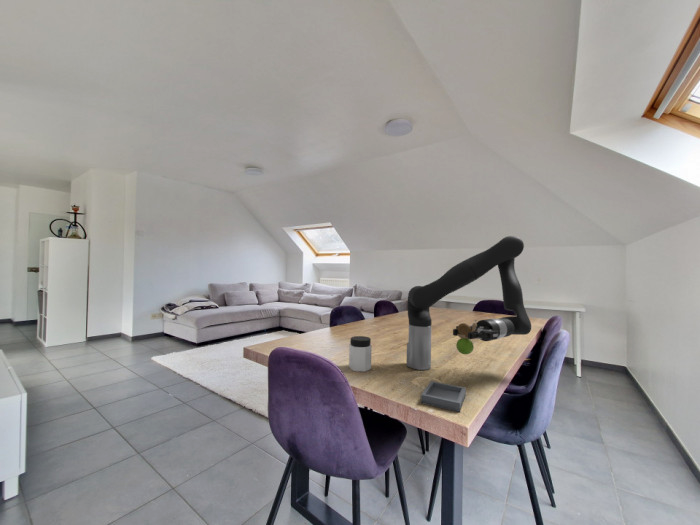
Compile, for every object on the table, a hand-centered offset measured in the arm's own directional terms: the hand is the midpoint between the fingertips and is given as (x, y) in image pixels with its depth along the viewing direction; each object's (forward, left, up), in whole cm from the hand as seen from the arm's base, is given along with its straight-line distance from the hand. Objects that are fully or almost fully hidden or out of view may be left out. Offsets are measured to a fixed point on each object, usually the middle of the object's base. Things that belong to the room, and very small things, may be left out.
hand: (461, 334), depth 99 cm
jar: (-39, +2, -19) cm, 43 cm away
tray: (-4, -10, -19) cm, 21 cm away
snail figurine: (+1, +2, -7) cm, 8 cm away
